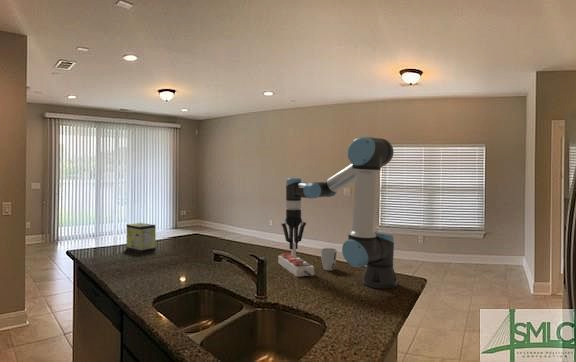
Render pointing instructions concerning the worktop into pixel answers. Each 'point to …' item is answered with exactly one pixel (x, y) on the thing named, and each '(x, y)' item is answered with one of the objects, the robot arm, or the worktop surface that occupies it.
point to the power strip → (296, 266)
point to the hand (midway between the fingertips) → (293, 255)
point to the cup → (328, 258)
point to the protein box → (141, 237)
